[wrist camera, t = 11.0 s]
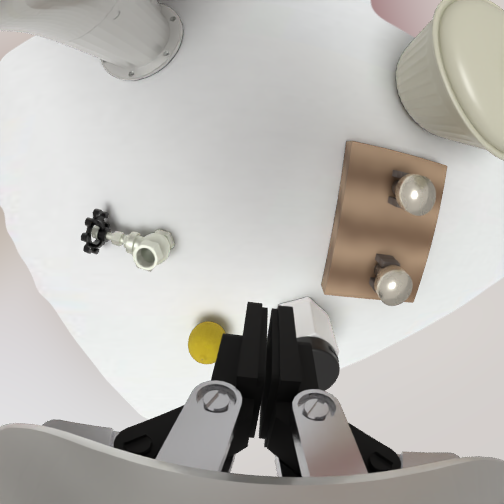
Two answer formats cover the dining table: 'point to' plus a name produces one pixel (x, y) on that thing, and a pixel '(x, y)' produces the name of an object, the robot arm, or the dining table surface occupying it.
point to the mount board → (378, 221)
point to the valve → (128, 242)
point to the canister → (458, 74)
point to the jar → (317, 339)
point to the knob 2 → (415, 194)
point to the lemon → (205, 342)
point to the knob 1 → (392, 284)
